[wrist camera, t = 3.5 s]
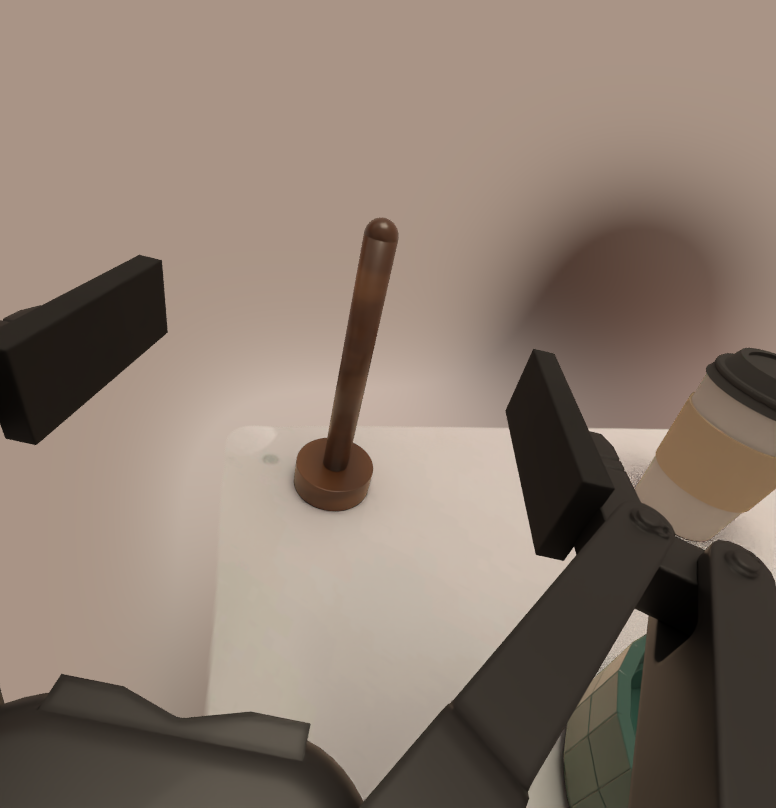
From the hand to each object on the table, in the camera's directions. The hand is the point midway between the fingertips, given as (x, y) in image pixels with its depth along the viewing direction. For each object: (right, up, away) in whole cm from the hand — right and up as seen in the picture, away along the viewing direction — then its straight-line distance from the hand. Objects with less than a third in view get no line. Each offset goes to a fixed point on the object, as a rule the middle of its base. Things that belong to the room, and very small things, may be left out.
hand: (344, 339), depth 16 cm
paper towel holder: (-3, -8, +18) cm, 20 cm away
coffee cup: (+27, -12, +24) cm, 38 cm away
